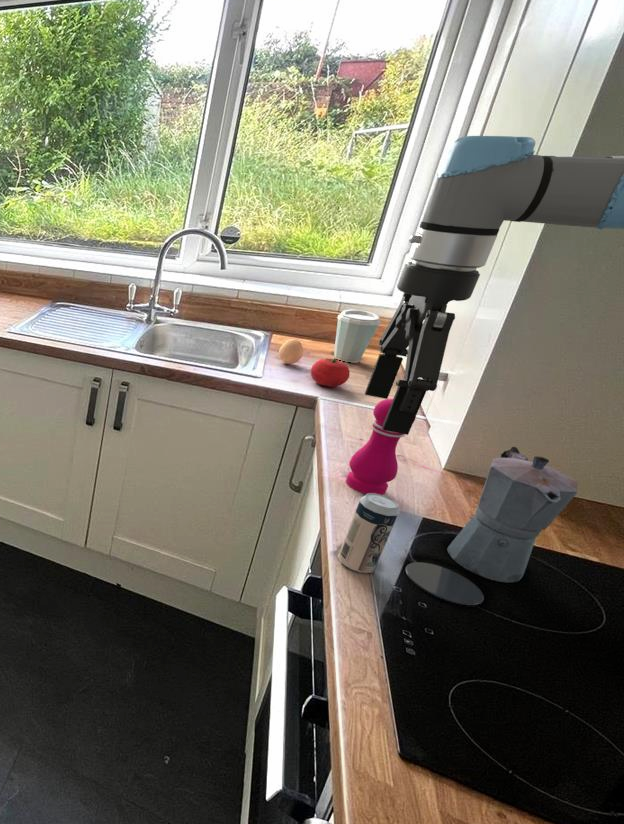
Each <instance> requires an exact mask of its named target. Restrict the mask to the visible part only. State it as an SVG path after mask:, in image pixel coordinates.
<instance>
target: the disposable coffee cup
mask: <svg viewBox="0 0 624 824" xmlns="http://www.w3.org/2000/svg"><path fill="white" fill-rule="evenodd" d="M336 319H337V325H336V331H335V332H336V333H335V340H334V341H335V342H334V350H333V358H334V357H335V358H336V359H338V360H341V362H343V361H345V362H344V363H347V362H351V363H350V364H358V363H359V362H360V360H362V357H363V356H364V354H365V352H366V350H367V348H368V346H369V345H370V342H371V340H372V338H373V337H374V334H375V333H376V331H377V329H378V327H379V326H380V324H381V321H382V320H381V319H380V316H379V315H378V314H376V313H373V312H371V311H366V310H361V309H360V310H359V309H344V310H342V311H341V312H340V314H338V315H337V317H336Z"/></svg>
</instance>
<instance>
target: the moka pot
mask: <svg viewBox="0 0 624 824" xmlns="http://www.w3.org/2000/svg"><path fill="white" fill-rule="evenodd" d="M548 463H550V460H549V459H548V458H546V457H543V456H537V455H536V456H534V457H533V461H531V460H529V458H528V457H527V456H526V454H523V453H521V452H520V450H519V449H518V448H517V447H516V446H512V447H510V449H508V450H504V451H503V452H502V453H501V454H500V457H494V458H493V459H492V461H491V464H490V467H489V470H488V472H487V476H486V479H485V483H484V485H483V488H482V492H481V494H480V498H479V501H478V505H477V508H476V510H475V512H474V515H473V516H472V517H471V518H470V519H469V521H468V522H467V523H466V524H465V526H464V527H463V528H462V529H461V530H460V532H459V533H458V534H457V535H456V536H455V538H454V539H453V540H452V541H451V543H450V544H449V545H448V546H447V548H446V550H447V553H448V555H449V556H450V557H451V559H452V560H453V561H454V562H455V563H456V564H458V565H459V566H461V567H462V568H463V569H465V570H467V571H469V572H470V573H473V574H475V575H478V576H480V577H482V578H485V579H488V580H491V581H494V580H495V581H494V582H499V583H507V584H509V583H517V582H519V581H520V580H521V579H522V578H523V577H524V575H525V572H526V569H527V566H528V563H529V560H530V557H531V554H532V551H533V548H534V545H535V543H536V540H537V539H536V538H537V537H538V536H539V535H540V534H541V532H542V531H545V530H546V529H547V528H548V527H549V526H550V525H551V524H552V523H553V522H554V520H555V519H556V518H557V517H558V516H559V514H560V513H561V512H562V511H563V510H564V509H565V508H566V507H567V505H568V504H569V503H570V502H571V501H572V500H573V499H574V498H575V496H577V493H578V486H579V485H578V481H577V480H575V479H574V478H572V477H570V476H568V475H567V474H565V473H563V472H561V471H559V470H557V469H556V468H554V467H552V466H548Z"/></svg>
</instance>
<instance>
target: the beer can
mask: <svg viewBox="0 0 624 824" xmlns="http://www.w3.org/2000/svg"><path fill="white" fill-rule="evenodd" d="M399 514H400V507H399V504H398V503H397V502H396V501H395V500H394V499H392V498H391V497H388V496H386V495H385V494H384V495H380V494H376V493H368V494H364V496H362V497H361V498H360V499H359V502H358V504H357V507H356V509H355V511H354V514H353V517H352V519H351V522H350V525H349V527H348V528H347V531H346V534H345V537H344V539H343V542H342V543H341V547H340V549H339V552H338V553H337V559H338V561H339V562H340V563H341V564H342V565H343V566H345V567H346V568H348V569H349V570H351V571H354V572H357V573H361V574H362V573H363V574H368V573H369V574H370V573H373V572H374V571H375V570H376V566H377V564H378V562H379V559H380V557H381V555H382V552H383V550H384V548H385V545H386V544H387V541H388V540H389V539H388V538H389V536H390V534H391V531H392V529H393V528H394V526H395V523H396V520H397V518H398V516H399Z"/></svg>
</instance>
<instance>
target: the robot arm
mask: <svg viewBox="0 0 624 824" xmlns="http://www.w3.org/2000/svg"><path fill="white" fill-rule="evenodd" d="M535 146H536V140H535V139H534V138H533V137H529V136H509V135H466V136H461V137H459V138H457V139H456V140H454V141H453V142H452V144H451V145H450V147H449V149H448V150H447V153H446V155H445V157H444V160H443V162H442V165H441V166H440V168H439V171H438V172H437V173H436V177H435V179H436V180H435V182H434V185H433V187H432V190H431V194H430V196H429V199H428V201H427V204H426V208H425V211H424V213H423V215H422V218H421V222H420V224H419V227H418V229H417V232H416V233H417V234H416V235H411V236H409V238H408V242H409V244H410V243H411V244H412V246H411V248H410V251H409V254H408V257H409V258H410V260H412V261H409V262H407V263H405V264H404V266H403V268H402V271H401V273H400V276H399V279H398V282H397V285H396V288H397V290H398V291H400V292H401V293H403V294H402V298H401V300H400V303H399V305H398V306H397V308H396V309H395V312H394V313H393V315H392V318H391V319H390V321H389V323H388V325H387V326H386V328H385V330H384V332H383V334H382V335H381V337H380V339H379V341H378V345H379V346H380V347H379V354H378V357H377V360H376V362H375V364H374V368H373V370H372V373H371V375H370V378H369V381H368V384H367V386H366V389H365V392H364V395H365V396H369V397H375V398H381V399H384V400H385V399H389V396H390V393H391V390H392V388H393V386H394V383H395V386H396V387H397V389H396V392H395V393H394V396H393V398H392V399H393V401H392V403H391V406H390V408H389V411H388V413H387V416H386V418H385V421H384V423H383V426H382V429H383V430H386V431H391V432H396V433H401V434H405V436H408V435H409V433H410V431H411V429H412V427H413V425H414V423H413V422H415V421H416V418H417V415H418V412H419V410H420V408H421V406H422V402H423V401H424V399H425V396H426V394H427V392H429V391H430V392H434V391H435V390H436V389H437V388H438V380H439V377H440V373H441V369H442V364H443V361H444V356H445V352H446V348H447V343H448V339H449V335H450V331H451V328H452V326H453V323H454V321H455V319H456V313H454V312H446V311H447V308H448V304H449V303H451V301H455V302H461V301H462V302H463V301H466V300H469V299H470V298H471V297H472V296H473V293H474V290H475V288H476V285H477V283H478V281H479V279H480V276H481V273H480V272H479V271H478V270H477V269H479V268H483V267H484V266H486V264H487V262H488V259H489V257H490V254H491V252H492V250H493V247H494V244H495V242H496V240H497V237H498V234H499V232H500V228H501V226H502V225H503V223H504V222H505V221H506V222H515V223H522V222H523V223H535V224H544V225H545V224H546V225H554V226H555V225H557V226H567V227H582V228H594V229H596V228H597V229H596V230H605V229H611V230H612V229H615V230H624V155H609V156H601V155H599V156H595V155H594V156H593V155H591V156H555V155H540V154H535V152H536V151H535ZM403 357H405V358H406V363H405V369H404V376H403V379H399V380H397V381H396V378H397V375H398V374H399V370H400V368H401V365H402V363H403V361H404V358H403ZM395 381H396V382H395ZM415 417H416V418H415ZM414 420H415V421H414Z"/></svg>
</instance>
